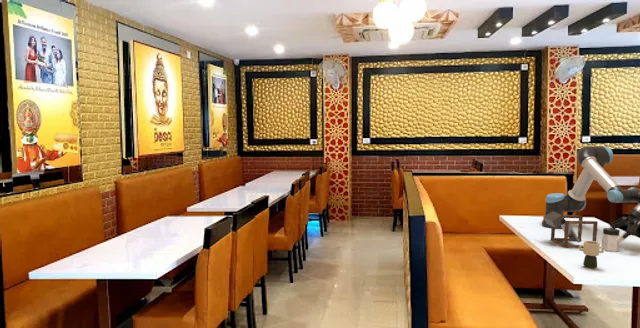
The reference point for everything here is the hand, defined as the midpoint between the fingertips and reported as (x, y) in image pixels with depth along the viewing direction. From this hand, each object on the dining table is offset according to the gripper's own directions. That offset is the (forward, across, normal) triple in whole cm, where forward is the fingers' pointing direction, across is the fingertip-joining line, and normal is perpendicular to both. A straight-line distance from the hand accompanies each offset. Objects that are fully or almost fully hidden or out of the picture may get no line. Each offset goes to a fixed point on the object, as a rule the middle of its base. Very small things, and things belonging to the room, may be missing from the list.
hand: (610, 238), depth 272 cm
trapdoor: (+19, +12, +19) cm, 29 cm away
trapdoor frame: (+16, +12, +6) cm, 21 cm away
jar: (+5, 0, -5) cm, 7 cm away
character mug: (+26, -34, +16) cm, 46 cm away
